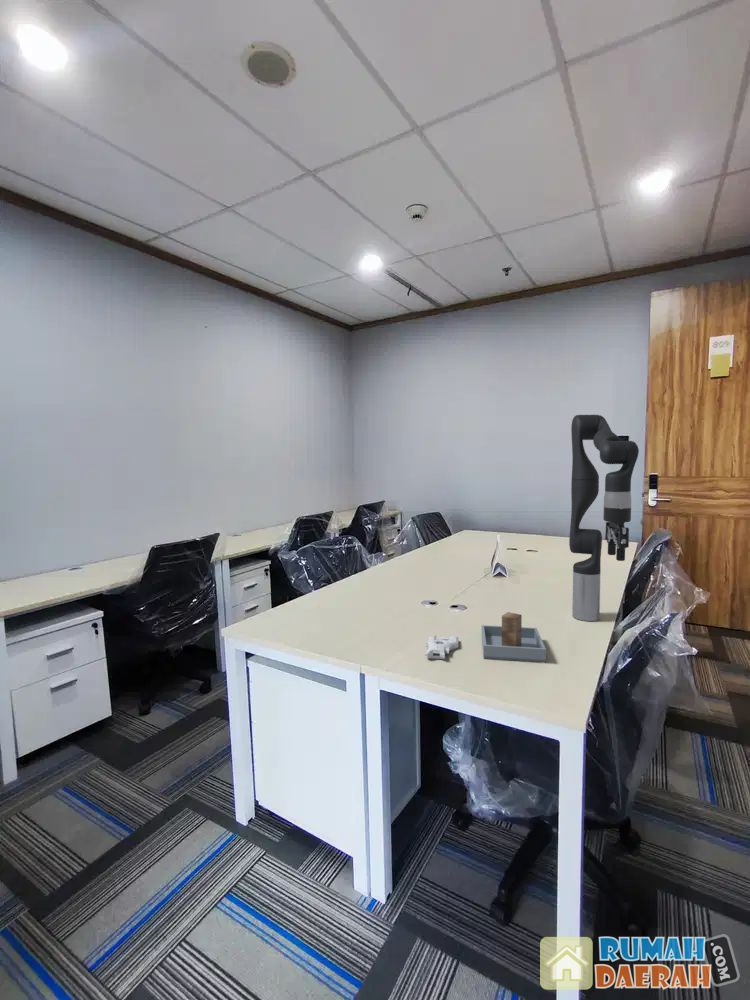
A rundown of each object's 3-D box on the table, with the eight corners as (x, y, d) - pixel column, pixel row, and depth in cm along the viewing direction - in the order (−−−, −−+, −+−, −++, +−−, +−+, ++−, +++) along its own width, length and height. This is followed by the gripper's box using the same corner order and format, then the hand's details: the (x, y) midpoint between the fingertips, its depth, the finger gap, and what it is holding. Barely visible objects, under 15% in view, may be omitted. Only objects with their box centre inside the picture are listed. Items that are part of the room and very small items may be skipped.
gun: (457, 651, 134) (423, 649, 136) (457, 663, 134) (423, 661, 136) (458, 632, 152) (428, 631, 154) (458, 642, 152) (428, 641, 154)
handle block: (501, 647, 143) (501, 615, 142) (507, 642, 146) (507, 612, 146) (515, 650, 140) (515, 618, 139) (521, 645, 143) (521, 614, 143)
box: (481, 636, 154) (481, 625, 153) (536, 639, 150) (536, 627, 150) (483, 658, 136) (483, 645, 136) (545, 662, 133) (545, 649, 133)
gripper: (597, 503, 149) (596, 553, 150) (611, 508, 135) (610, 562, 137) (622, 503, 148) (621, 553, 149) (639, 508, 134) (637, 563, 135)
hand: (615, 557), depth 143 cm, fingers open, 8 cm apart
